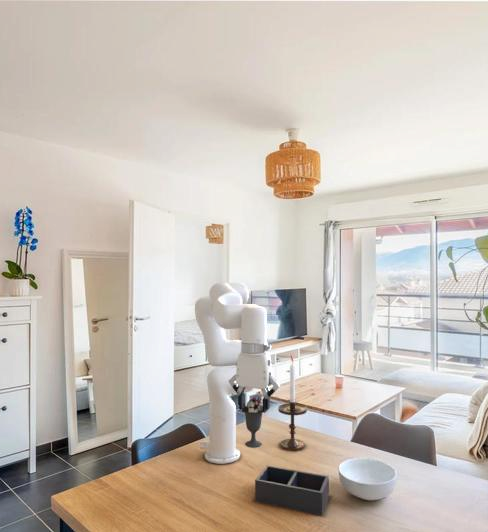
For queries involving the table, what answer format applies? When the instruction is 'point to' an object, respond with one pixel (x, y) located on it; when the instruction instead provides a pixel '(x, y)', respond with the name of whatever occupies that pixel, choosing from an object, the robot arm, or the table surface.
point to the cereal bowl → (367, 478)
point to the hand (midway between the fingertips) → (253, 409)
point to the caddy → (292, 489)
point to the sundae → (253, 420)
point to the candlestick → (292, 414)
